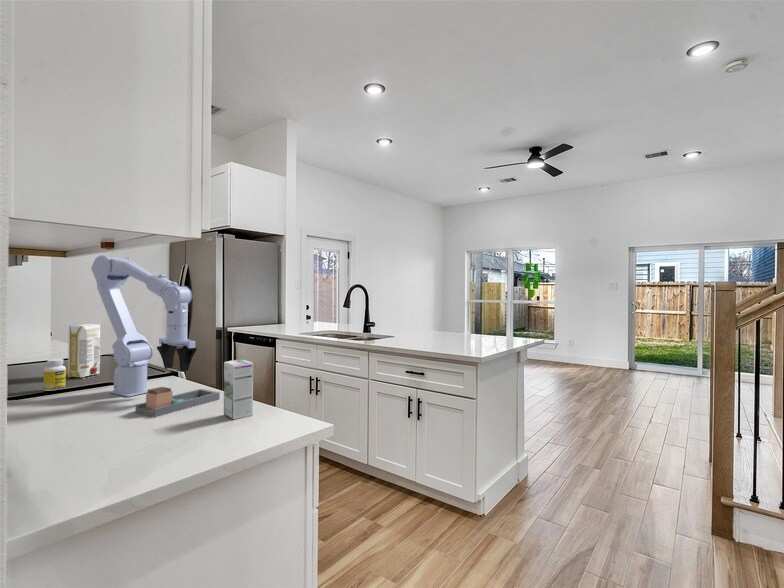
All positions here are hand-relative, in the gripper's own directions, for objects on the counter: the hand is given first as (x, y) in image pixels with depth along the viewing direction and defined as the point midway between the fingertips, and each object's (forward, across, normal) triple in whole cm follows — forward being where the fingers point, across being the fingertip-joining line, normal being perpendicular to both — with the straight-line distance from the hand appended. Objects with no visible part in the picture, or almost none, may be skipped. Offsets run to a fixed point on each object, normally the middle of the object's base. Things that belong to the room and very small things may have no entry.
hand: (176, 369), depth 124 cm
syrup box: (+9, +30, -3) cm, 31 cm away
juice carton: (+9, -52, 0) cm, 53 cm away
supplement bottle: (+9, -38, -15) cm, 42 cm away
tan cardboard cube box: (+8, +9, -11) cm, 17 cm away
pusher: (+8, +9, -6) cm, 14 cm away
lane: (+8, +9, -5) cm, 13 cm away
